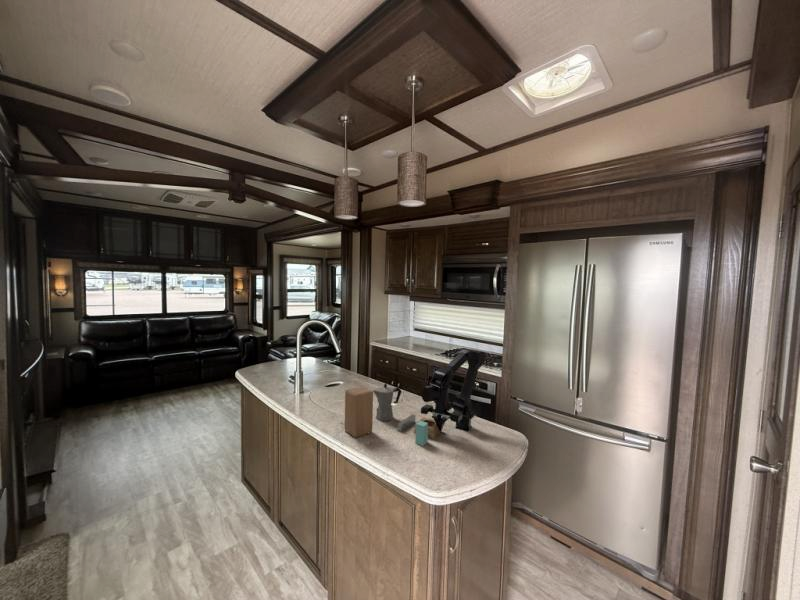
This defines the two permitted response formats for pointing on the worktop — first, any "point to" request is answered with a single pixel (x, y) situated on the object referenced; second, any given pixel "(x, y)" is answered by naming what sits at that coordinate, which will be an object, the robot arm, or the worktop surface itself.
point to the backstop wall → (406, 423)
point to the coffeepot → (385, 402)
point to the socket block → (430, 427)
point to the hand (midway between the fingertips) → (440, 431)
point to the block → (358, 411)
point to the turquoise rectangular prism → (421, 433)
